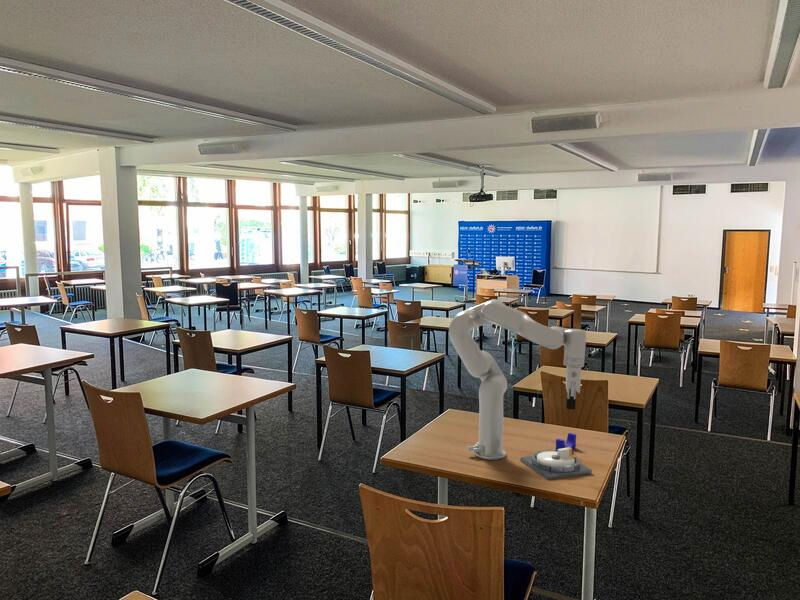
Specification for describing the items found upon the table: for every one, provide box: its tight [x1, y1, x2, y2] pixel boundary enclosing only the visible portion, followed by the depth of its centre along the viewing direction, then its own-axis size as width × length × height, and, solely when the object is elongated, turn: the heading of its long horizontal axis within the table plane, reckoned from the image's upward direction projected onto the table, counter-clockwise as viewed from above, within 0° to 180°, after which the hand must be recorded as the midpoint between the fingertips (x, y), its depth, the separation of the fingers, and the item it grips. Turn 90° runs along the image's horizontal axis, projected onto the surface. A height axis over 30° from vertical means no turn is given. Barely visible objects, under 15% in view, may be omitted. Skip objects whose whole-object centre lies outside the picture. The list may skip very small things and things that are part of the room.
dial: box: [537, 447, 575, 467], centre depth 223 cm, size 14×14×5 cm
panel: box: [520, 449, 593, 480], centre depth 223 cm, size 19×19×4 cm
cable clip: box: [555, 432, 577, 453], centre depth 241 cm, size 12×4×6 cm, turn 138°
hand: (570, 408), depth 224 cm, fingers closed
